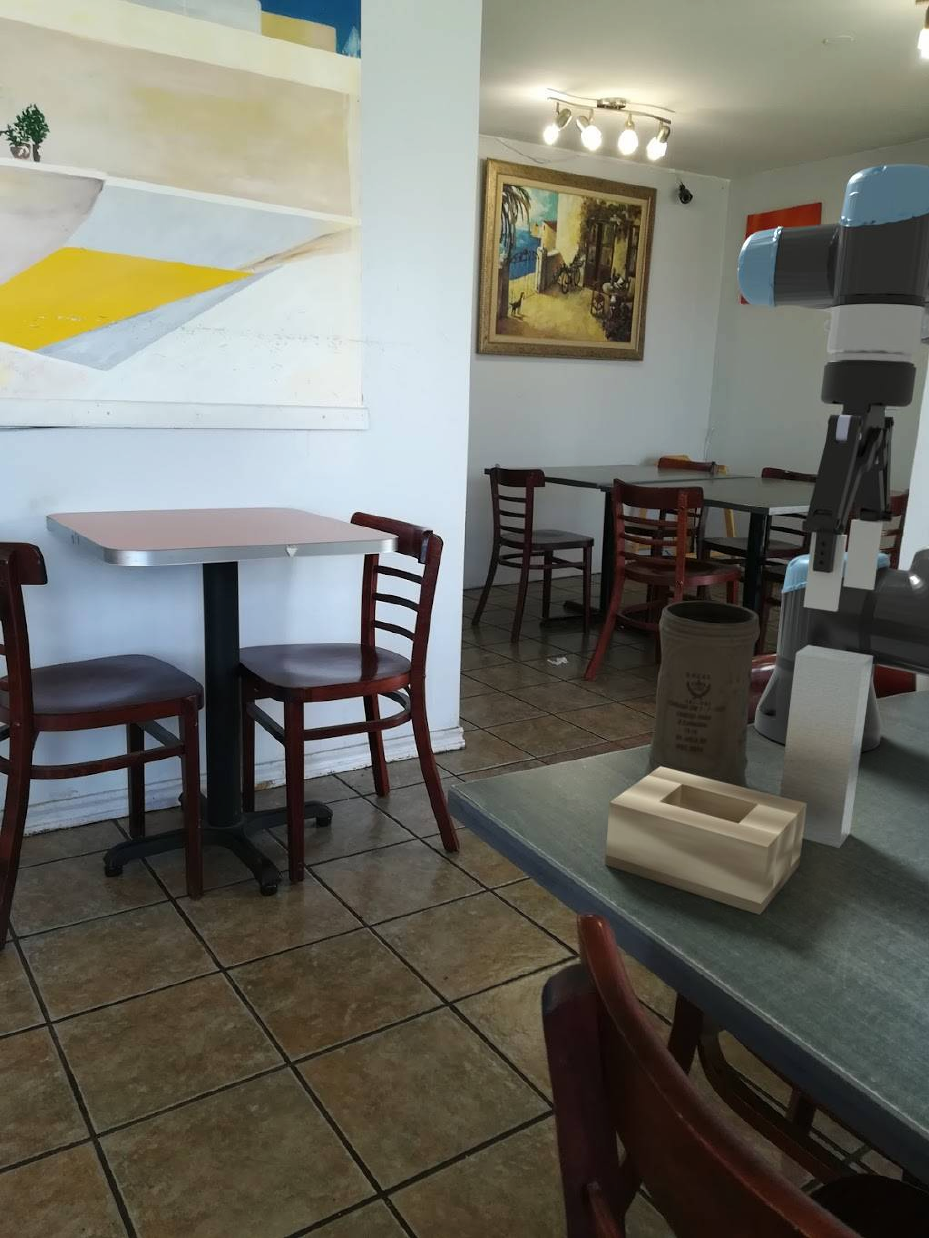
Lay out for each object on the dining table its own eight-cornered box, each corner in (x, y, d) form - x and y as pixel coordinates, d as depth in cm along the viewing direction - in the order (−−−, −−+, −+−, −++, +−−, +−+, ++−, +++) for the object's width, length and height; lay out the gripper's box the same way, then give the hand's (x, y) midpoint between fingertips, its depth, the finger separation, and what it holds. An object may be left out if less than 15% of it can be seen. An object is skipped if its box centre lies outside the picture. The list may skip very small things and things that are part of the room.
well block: (655, 823, 97) (660, 766, 95) (799, 865, 89) (806, 803, 88) (605, 864, 88) (609, 802, 86) (759, 914, 80) (767, 847, 79)
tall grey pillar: (787, 817, 99) (808, 644, 95) (849, 833, 96) (873, 655, 92) (775, 830, 96) (796, 652, 92) (839, 848, 93) (863, 664, 89)
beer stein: (750, 817, 99) (770, 624, 94) (642, 805, 101) (657, 615, 96) (739, 763, 114) (757, 594, 109) (645, 753, 116) (659, 587, 111)
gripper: (860, 365, 98) (834, 575, 103) (784, 350, 78) (756, 611, 83) (942, 367, 94) (911, 585, 99) (884, 351, 74) (849, 626, 78)
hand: (840, 597), depth 91 cm, fingers open, 13 cm apart
